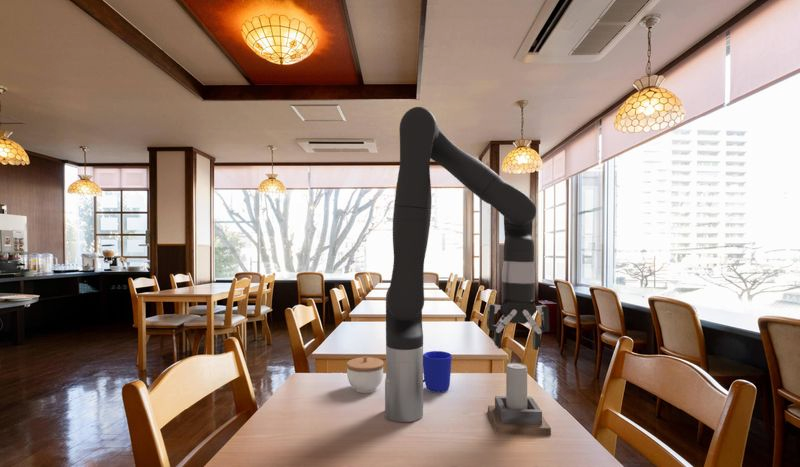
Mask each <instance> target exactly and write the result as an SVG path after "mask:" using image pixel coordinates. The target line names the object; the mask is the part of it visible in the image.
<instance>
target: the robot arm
mask: <svg viewBox="0 0 800 467" xmlns="http://www.w3.org/2000/svg"><path fill="white" fill-rule="evenodd" d="M431 161H433V162H435V163H437V164H438V165H439V166H441V167H442V168H444V169H445V170H446V171H447V172H449V173H450V174H451V175H452V176H453V177H454V179H456V180H457V181H458V182H460V183H461V184H462V185H464V187H466V189H468V190H469V191H471V193H473V194H474V195H476V196H477V198H479V199H480V200H482V201H483V202H485V203H486V204H488V205H490V206H492V207H493V208H494V209H495V210H496V211H497V212H499V213H500V214H501V216H503V228H504V229H503V230H504V243H503V265H502V271H501V303H500V304H493V303H491V302H490V303H488V305H487V316H486V318H487V319H486V327H487V329H488V330H490V331H492V332H493V335H494V336H493V343H494V345H495V346H496V348H497V349H502V337H503V334H502V331H503V329H505V327H506V326H508V324H509V323H511V324H522V325H525V324H527V323H528V325H530V327H531V328H532V331H533V332H532V349H534V351H538V350H539V348H541V344H542V343H541V342H542V340H541V338H542V334H543V333H546V332H549V331H550V312H549V310H550V309H549V306H547V305H545V304H541V305H536V303H535V300H536V298H535V297H536V296H535V295H536V292H535V290H536V287H535V286H536V269H535V242H534V239H533V223H534V222H533V221H534V219H535V217H536V215H537V206H536V203H535V202H534V201H533V200H532V199H531V198H530V197H529V196H528V195H526V193H524V192H522V191H521V190H519V189H518V188H516V187H515V186H513V185H511V184H510V183H508V182H507V181H506V180H504V179H503V177H501V176H500V175H499V174H498V173H497V172H495V171H494V170H493V169H491V168H490V167H489V166H487V165H486V164H485V163H484V162H482V161H481V160H480V159H478V158H476V157H474V156H472V155H471V154H469V153H467V152H466V151H464V150H463V149H461V148H460V147H458V145H456V144H455V143H454V142H453V141H451V140H450V139H449V138H448V137H447V136H446V135H445V134H444V132H443V131H442V130H441V129H440V127H439V124H438V122H437V120H436V117H435V116H434V114H433V113H432V112H431V111H430V110H428V109H427V108H425V107H422V106H414V107H412V108H409V109H408V110H407V111H406V112H405V113H404V115H402V118H401V119H400V123H399V167H398V174H397V181H396V188H395V194H394V195H395V197H394V203H393V214H392V246H393V247H392V248H393V249H392V250H393V266H392V273H391V279H390V285H389V286H388V289H387V291H386V295H385V379H384V394H385V395H384V419H385V420H392V421H395V422H399V423H412V422H415V421H419V420H420V419H421V418H423V416H424V382H423V380H424V368H423V355H424V331H423V309H424V307H425V306H424V305H425V292H424V291H425V290H424V289H425V288H424V287H425V286H424V285H425V284H424V278H425V276H424V270H425V269H424V268H425V266H424V265H425V257H426V252H427V247H428V241H429V235H430V229H431V228H430V227H431V217H432V201H433V200H432V185H431V184H432V183H431V172H430V171H431V170H430V169H431V168H430V166H431ZM499 310H500V312H501V313H502V316H501V317H500V318H499V320H498V321H497V323H496V324H494V322H495V315H496V314H497V313H498V311H499ZM536 312H538V315H540V322H541V323H540V324H541V325H540V326H539V324H538V323H537V322H536V321H535V318H533V316H534V315H535V313H536Z"/></svg>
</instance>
